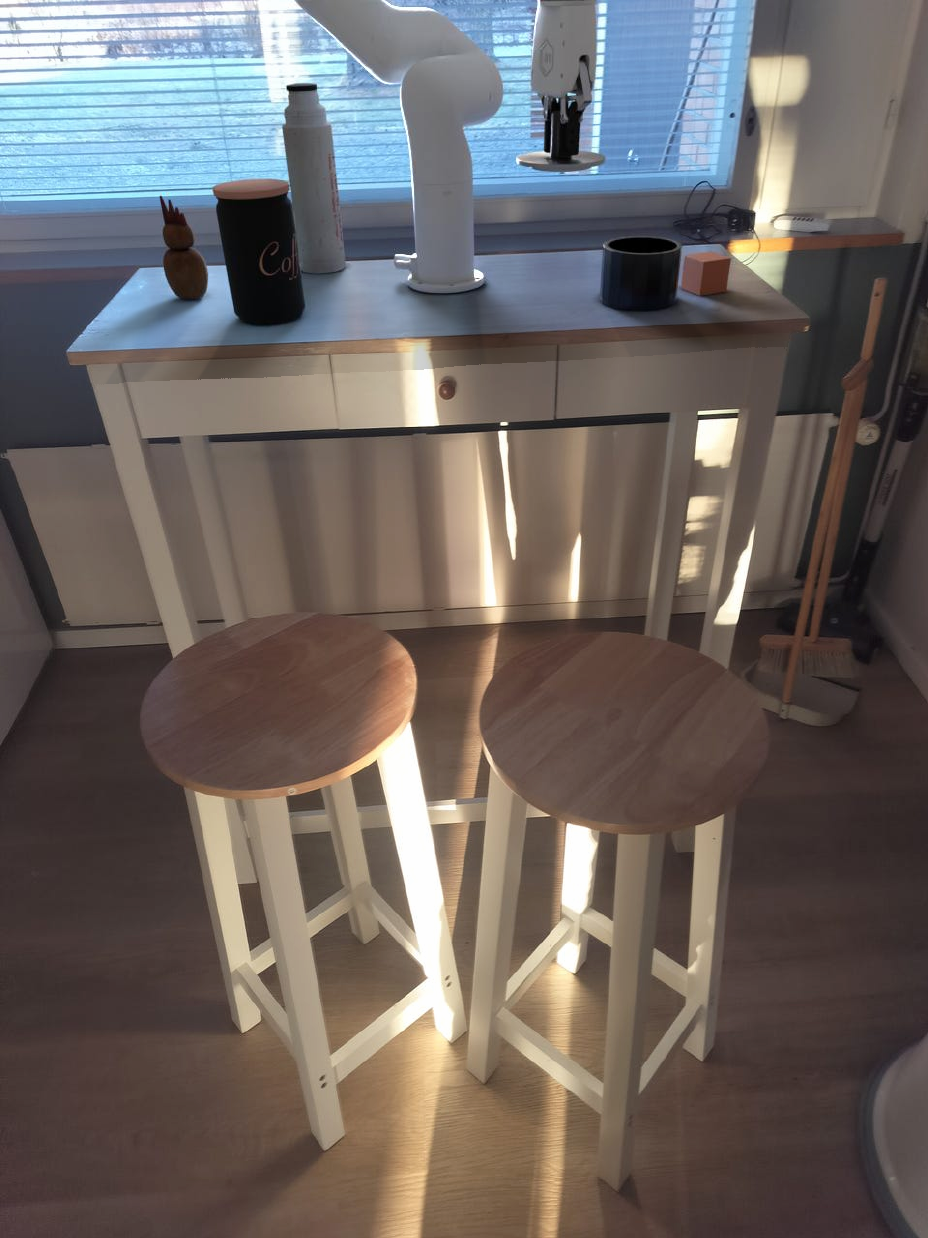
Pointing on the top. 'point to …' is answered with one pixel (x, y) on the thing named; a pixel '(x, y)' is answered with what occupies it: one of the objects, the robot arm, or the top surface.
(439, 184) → the robot arm
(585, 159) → the lid
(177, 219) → the wooden figurine
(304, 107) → the thermos bottle
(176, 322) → the top surface
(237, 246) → the coffee jar
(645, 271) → the pot
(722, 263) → the block
